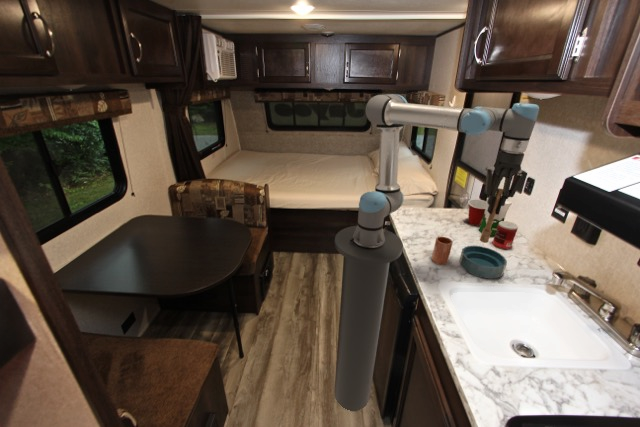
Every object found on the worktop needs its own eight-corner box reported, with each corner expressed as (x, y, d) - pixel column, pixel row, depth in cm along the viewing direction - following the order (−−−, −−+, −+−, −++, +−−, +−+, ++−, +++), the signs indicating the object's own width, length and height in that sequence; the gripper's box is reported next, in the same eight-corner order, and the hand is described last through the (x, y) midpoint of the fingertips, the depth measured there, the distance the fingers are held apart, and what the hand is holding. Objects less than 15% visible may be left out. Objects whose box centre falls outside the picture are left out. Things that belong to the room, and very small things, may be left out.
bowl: (463, 276, 115) (467, 264, 113) (455, 254, 130) (458, 243, 128) (508, 282, 112) (513, 270, 110) (495, 259, 127) (498, 248, 125)
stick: (480, 242, 115) (497, 190, 106) (478, 238, 118) (494, 187, 108) (489, 243, 114) (506, 190, 105) (486, 239, 117) (503, 188, 108)
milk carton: (490, 228, 154) (501, 192, 145) (503, 236, 146) (515, 199, 137) (475, 229, 152) (486, 193, 144) (488, 237, 144) (499, 200, 136)
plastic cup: (460, 223, 158) (465, 203, 153) (466, 217, 166) (471, 197, 161) (482, 229, 152) (488, 208, 147) (487, 222, 159) (493, 202, 154)
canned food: (511, 244, 139) (518, 223, 134) (510, 251, 133) (517, 230, 128) (493, 239, 143) (499, 219, 138) (491, 246, 137) (498, 225, 132)
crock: (432, 263, 123) (437, 243, 119) (430, 255, 128) (435, 235, 124) (448, 265, 122) (454, 245, 117) (446, 257, 127) (451, 237, 123)
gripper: (492, 151, 99) (474, 214, 109) (541, 155, 96) (518, 219, 106) (486, 147, 105) (469, 206, 115) (531, 150, 103) (510, 210, 113)
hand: (492, 212), depth 111 cm, fingers closed on stick, 2 cm apart
